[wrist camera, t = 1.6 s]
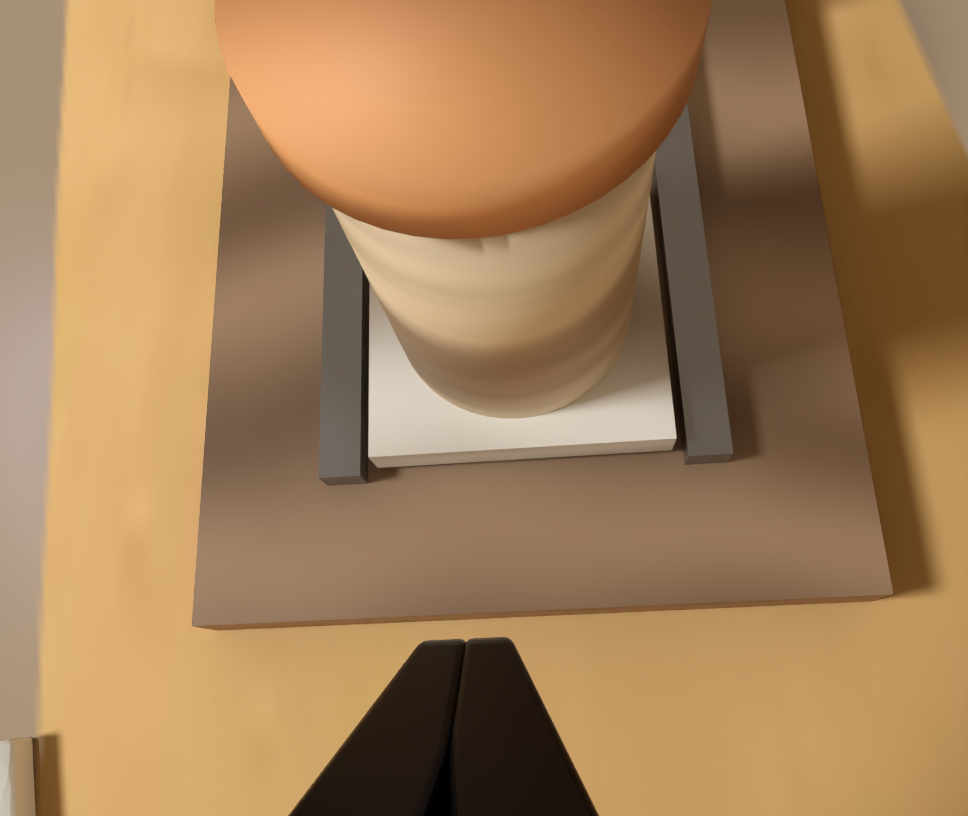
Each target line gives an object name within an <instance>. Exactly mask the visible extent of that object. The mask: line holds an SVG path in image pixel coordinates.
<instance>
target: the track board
mask: <svg viewBox="0 0 968 816" xmlns="http://www.w3.org/2000/svg"><path fill="white" fill-rule="evenodd" d="M687 105H688V112H689V120H690V128H691V135H692V143H693V150H694V158H695V166H696V173H697V181H698V188H699V196H700V204H701V211H702V219H703V226H704V234H705V242H706V249H707V257H708V264H709V272H710V280H711V287H712V295H713V302H714V310H715V318H716V325H717V333H718V340H719V348H720V356H721V363H722V371H723V378H724V386H725V394H726V401H727V409H728V416H729V424H730V431H731V439H732V447H733V455H732V456H731V458H730V459H729V461H728V462H726V463H709V464H692V465H684V457H683V449H682V440H681V431H680V422H679V413H678V404H677V395H676V386H675V377H674V369H673V360H672V351H671V342H670V333H669V324H668V315H667V306H666V297H665V288H664V280H663V271H662V262H661V253H660V244H659V235H658V226H657V217H656V208H655V200H654V191H653V182H651V188H650V202H651V211H652V220H653V229H654V238H655V247H656V256H657V265H658V274H659V283H660V292H661V301H662V310H663V319H664V328H665V337H666V346H667V355H668V364H669V373H670V382H671V391H672V401H673V410H674V419H675V428H676V437H677V439H676V441H675V444H674V446H673V449H672V450H668V451H651V452H635V453H618V454H601V455H585V456H568V457H552V458H535V459H518V460H502V461H485V462H468V463H452V464H435V465H418V466H402V467H385V468H377V467H376V465H375V464H374V463H373V462H372V461H371V460H370V459H369V457H368V484H350V485H333V486H327V485H326V484H325V483H324V482H322V481H321V480H320V479H319V478H318V476H319V438H320V400H321V362H322V324H323V286H324V249H325V211H326V203H324V202H323V201H322V200H320V199H319V198H317V197H316V196H314V195H313V194H312V193H310V192H309V191H307V190H306V189H305V188H304V187H303V186H302V185H301V184H300V183H299V182H298V181H297V180H296V179H295V178H294V177H293V176H292V175H291V174H290V173H289V172H288V171H287V170H286V169H285V167H284V166H283V165H282V163H281V162H280V161H279V160H278V158H277V157H276V156H275V154H274V153H273V152H272V150H271V148H270V146H269V145H268V143H267V141H266V139H265V137H264V136H263V134H262V132H261V130H260V129H259V127H258V125H257V123H256V121H255V120H254V118H253V116H252V114H251V112H250V111H249V109H248V107H247V105H246V104H245V102H244V100H243V98H242V96H241V95H240V93H239V91H238V89H237V87H236V85H235V84H234V82H233V80H232V78H231V76H230V90H229V104H228V118H227V133H226V147H225V161H224V175H223V189H222V204H221V218H220V232H219V246H218V261H217V275H216V289H215V303H214V317H213V332H212V346H211V360H210V374H209V389H208V403H207V417H206V431H205V445H204V460H203V474H202V488H201V502H200V516H199V531H198V545H197V559H196V573H195V588H194V602H193V616H192V626H194V627H200V628H206V629H212V630H237V629H259V628H282V627H304V626H326V625H349V624H371V623H394V622H416V621H439V620H461V619H483V618H506V617H528V616H551V615H573V614H595V613H618V612H640V611H663V610H685V609H707V608H730V607H752V606H775V605H797V604H820V603H842V602H864V601H874V600H877V599H880V598H884V597H887V596H890V595H893V589H892V583H891V578H890V572H889V567H888V561H887V556H886V550H885V545H884V539H883V534H882V528H881V523H880V518H879V512H878V507H877V501H876V496H875V490H874V485H873V479H872V474H871V468H870V463H869V457H868V452H867V446H866V441H865V436H864V430H863V425H862V419H861V414H860V408H859V403H858V397H857V392H856V386H855V381H854V375H853V370H852V364H851V359H850V354H849V348H848V343H847V337H846V332H845V326H844V321H843V315H842V310H841V304H840V299H839V293H838V288H837V282H836V277H835V272H834V266H833V261H832V255H831V250H830V244H829V239H828V233H827V228H826V222H825V217H824V211H823V206H822V200H821V195H820V190H819V184H818V179H817V173H816V168H815V162H814V157H813V151H812V146H811V140H810V135H809V129H808V124H807V118H806V113H805V108H804V102H803V97H802V91H801V86H800V80H799V75H798V69H797V64H796V58H795V53H794V47H793V42H792V36H791V31H790V25H789V20H788V15H787V9H786V4H785V0H712V4H711V9H710V14H709V19H708V24H707V29H706V34H705V39H704V44H703V49H702V54H701V59H700V64H699V68H698V72H697V75H696V79H695V83H694V86H693V90H692V92H691V94H690V96H689V99H688V101H687ZM369 301H370V282H369ZM368 433H369V403H368Z"/></svg>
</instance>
